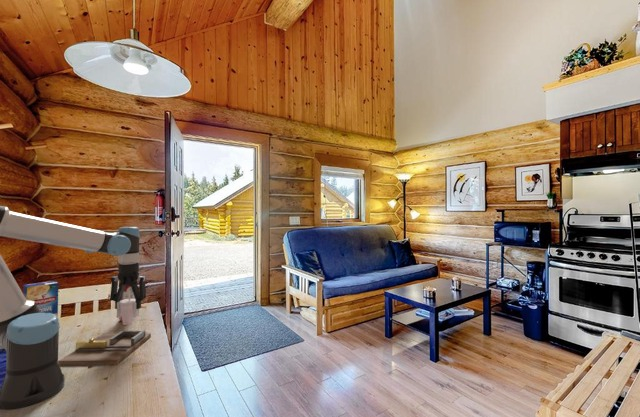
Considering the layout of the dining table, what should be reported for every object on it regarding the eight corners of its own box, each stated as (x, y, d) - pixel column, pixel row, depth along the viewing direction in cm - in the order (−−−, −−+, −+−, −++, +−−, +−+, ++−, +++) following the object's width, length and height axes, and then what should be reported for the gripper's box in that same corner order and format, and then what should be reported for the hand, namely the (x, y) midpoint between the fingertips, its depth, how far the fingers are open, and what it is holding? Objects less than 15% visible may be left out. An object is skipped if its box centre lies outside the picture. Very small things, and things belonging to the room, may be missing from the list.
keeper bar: (104, 349, 117) (104, 339, 117) (75, 350, 116) (75, 340, 116) (107, 347, 119) (107, 337, 119) (78, 348, 118) (79, 338, 118)
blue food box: (57, 328, 141) (58, 282, 141) (25, 336, 132) (27, 287, 132) (53, 325, 145) (54, 280, 145) (21, 332, 136) (23, 285, 136)
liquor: (130, 316, 158) (131, 264, 158) (137, 319, 154) (138, 265, 155) (115, 320, 152) (116, 266, 152) (122, 323, 148) (123, 268, 148)
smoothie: (127, 326, 122) (128, 293, 122) (115, 325, 123) (115, 292, 123) (140, 321, 128) (140, 289, 128) (127, 319, 129) (128, 288, 129)
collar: (134, 344, 122) (134, 338, 122) (109, 344, 121) (109, 338, 121) (145, 335, 131) (145, 330, 131) (122, 335, 130) (122, 330, 130)
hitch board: (116, 364, 109) (117, 358, 109) (58, 364, 108) (58, 359, 108) (150, 336, 133) (150, 332, 133) (102, 337, 132) (103, 332, 132)
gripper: (156, 261, 130) (155, 313, 130) (111, 261, 129) (110, 313, 129) (147, 264, 122) (146, 319, 122) (99, 264, 121) (98, 319, 121)
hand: (128, 316), depth 126 cm, fingers closed on smoothie, 6 cm apart
